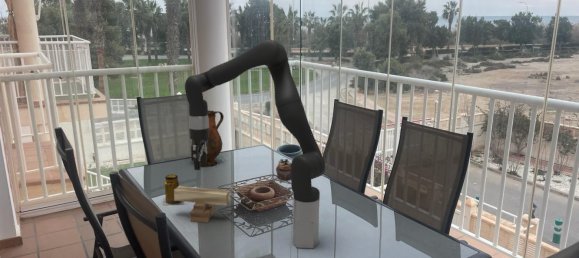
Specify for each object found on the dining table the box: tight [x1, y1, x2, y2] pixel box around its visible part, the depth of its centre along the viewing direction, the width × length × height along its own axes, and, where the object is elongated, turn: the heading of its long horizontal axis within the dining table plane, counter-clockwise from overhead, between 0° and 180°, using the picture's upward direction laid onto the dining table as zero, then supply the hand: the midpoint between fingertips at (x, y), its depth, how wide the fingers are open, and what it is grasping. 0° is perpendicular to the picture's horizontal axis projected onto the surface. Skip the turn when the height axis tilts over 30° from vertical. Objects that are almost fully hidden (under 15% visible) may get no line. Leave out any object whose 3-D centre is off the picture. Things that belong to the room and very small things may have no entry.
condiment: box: [163, 173, 185, 206], centre depth 189 cm, size 7×8×12 cm
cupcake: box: [275, 158, 292, 182], centre depth 220 cm, size 10×10×10 cm
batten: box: [174, 185, 231, 206], centre depth 173 cm, size 4×22×4 cm, turn 78°
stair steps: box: [189, 202, 215, 224], centre depth 174 cm, size 10×7×7 cm
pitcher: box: [190, 110, 224, 168], centre depth 241 cm, size 17×21×30 cm
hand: (200, 166), depth 170 cm, fingers open, 8 cm apart
